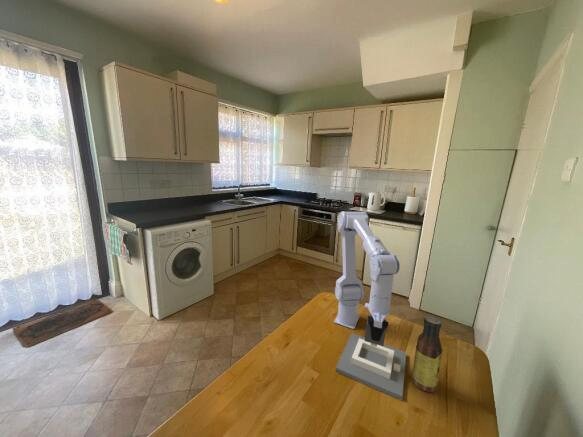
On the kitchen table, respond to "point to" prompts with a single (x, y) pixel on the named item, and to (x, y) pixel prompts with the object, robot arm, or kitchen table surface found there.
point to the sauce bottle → (428, 355)
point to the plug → (369, 339)
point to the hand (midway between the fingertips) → (375, 334)
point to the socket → (374, 365)
